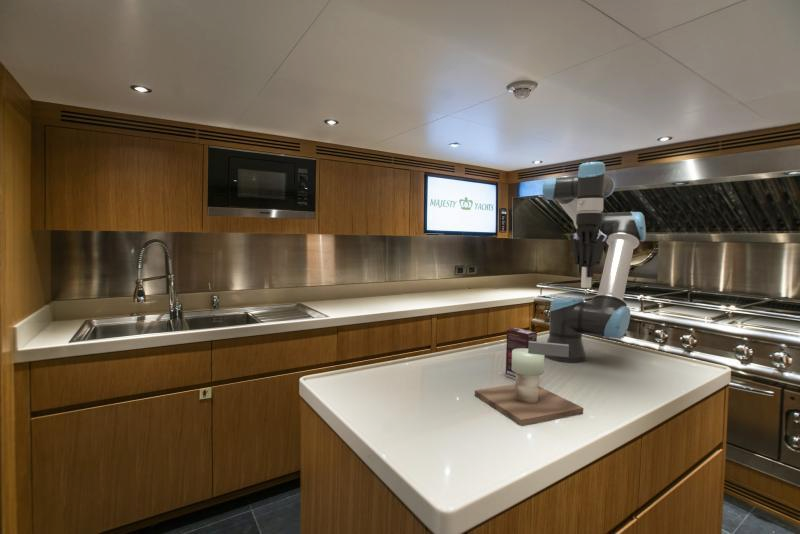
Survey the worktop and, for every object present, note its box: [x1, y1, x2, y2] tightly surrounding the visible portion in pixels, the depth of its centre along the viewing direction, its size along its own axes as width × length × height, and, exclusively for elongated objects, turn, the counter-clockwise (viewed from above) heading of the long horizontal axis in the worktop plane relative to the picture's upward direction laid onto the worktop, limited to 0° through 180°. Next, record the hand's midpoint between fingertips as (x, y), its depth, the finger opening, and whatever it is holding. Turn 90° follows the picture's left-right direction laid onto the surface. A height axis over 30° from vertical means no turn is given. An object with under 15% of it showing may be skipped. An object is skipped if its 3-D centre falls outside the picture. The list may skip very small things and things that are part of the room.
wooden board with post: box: [474, 373, 584, 427], centre depth 107 cm, size 20×20×9 cm
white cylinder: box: [511, 341, 569, 377], centre depth 106 cm, size 14×8×8 cm, turn 72°
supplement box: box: [505, 327, 538, 381], centre depth 127 cm, size 9×5×16 cm, turn 35°
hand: (585, 287), depth 125 cm, fingers closed
